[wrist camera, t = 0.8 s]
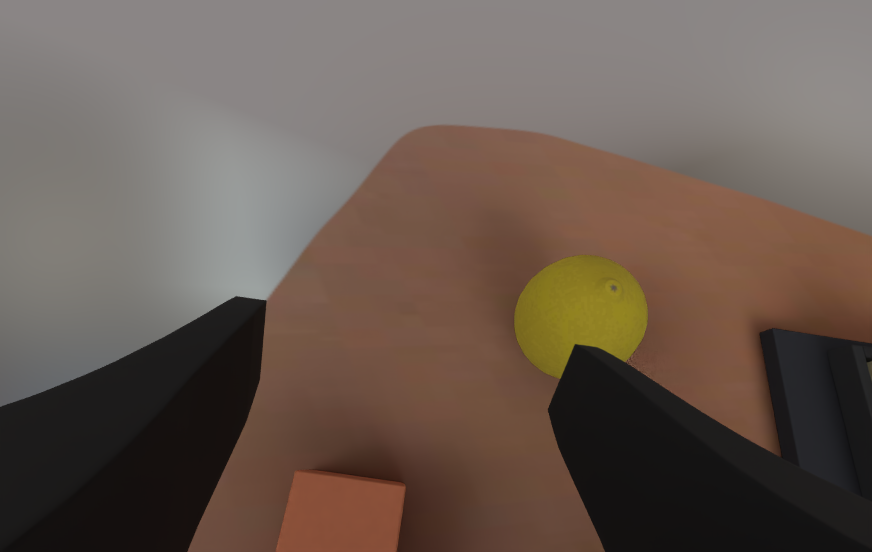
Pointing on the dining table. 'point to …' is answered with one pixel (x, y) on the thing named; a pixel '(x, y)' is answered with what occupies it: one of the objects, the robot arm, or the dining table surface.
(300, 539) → the orange rectangular block
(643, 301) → the lemon
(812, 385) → the dark rectangular tray
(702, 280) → the dining table surface
